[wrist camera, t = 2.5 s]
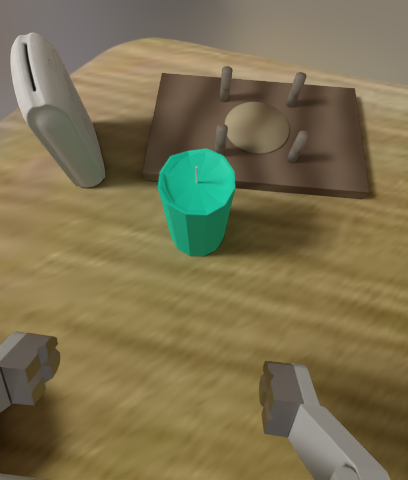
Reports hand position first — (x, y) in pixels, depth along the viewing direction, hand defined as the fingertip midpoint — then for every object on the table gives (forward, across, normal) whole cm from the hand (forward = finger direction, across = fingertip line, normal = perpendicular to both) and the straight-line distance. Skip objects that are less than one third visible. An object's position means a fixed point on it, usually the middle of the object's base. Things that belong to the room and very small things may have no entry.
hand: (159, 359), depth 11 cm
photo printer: (+27, +15, -3) cm, 31 cm away
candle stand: (+30, -6, -7) cm, 32 cm away
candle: (+21, 0, +3) cm, 21 cm away
